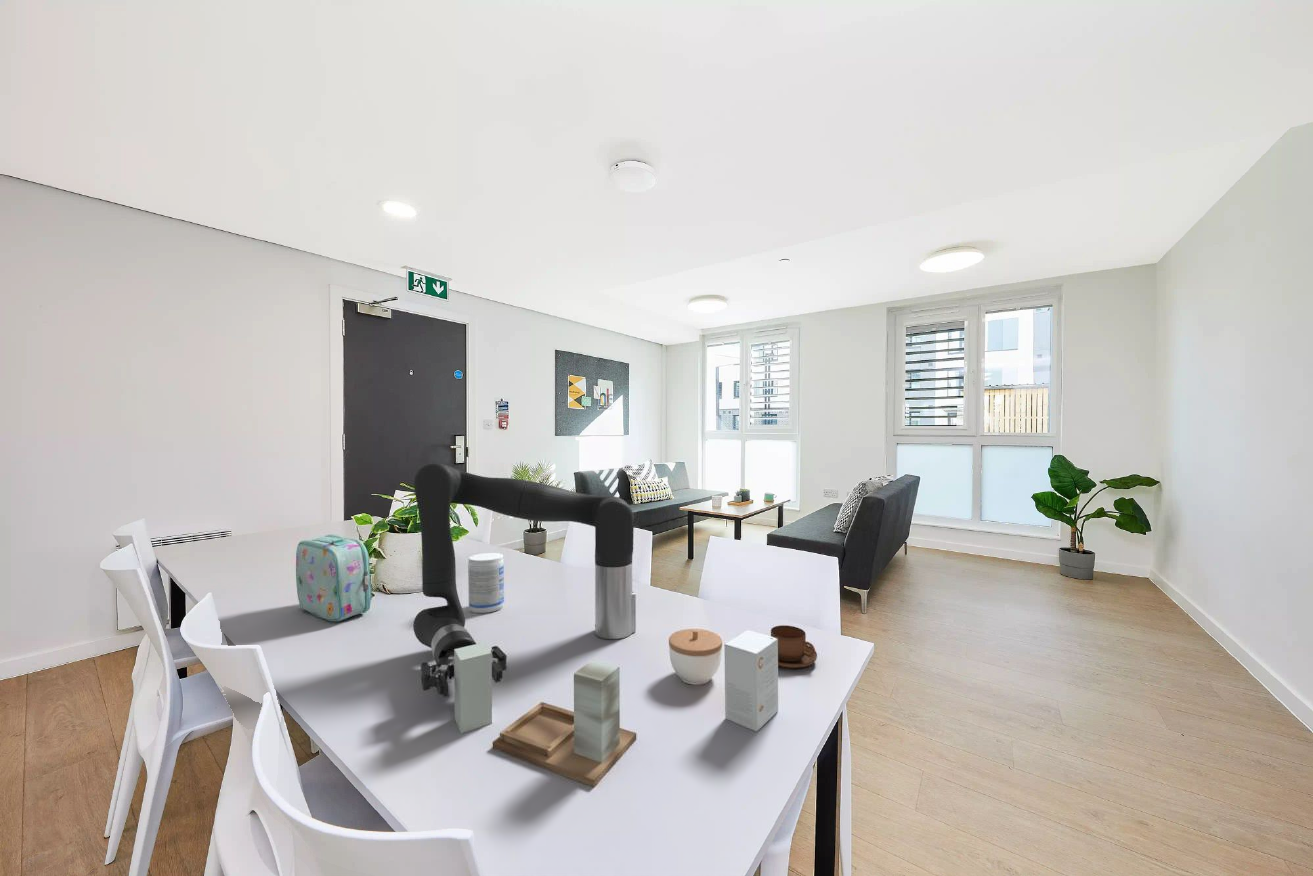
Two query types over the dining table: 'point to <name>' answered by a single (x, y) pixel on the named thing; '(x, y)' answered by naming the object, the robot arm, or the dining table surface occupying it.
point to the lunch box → (333, 577)
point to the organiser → (574, 729)
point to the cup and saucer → (793, 647)
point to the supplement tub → (486, 582)
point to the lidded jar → (695, 655)
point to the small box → (751, 679)
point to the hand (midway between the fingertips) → (473, 683)
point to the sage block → (473, 686)
